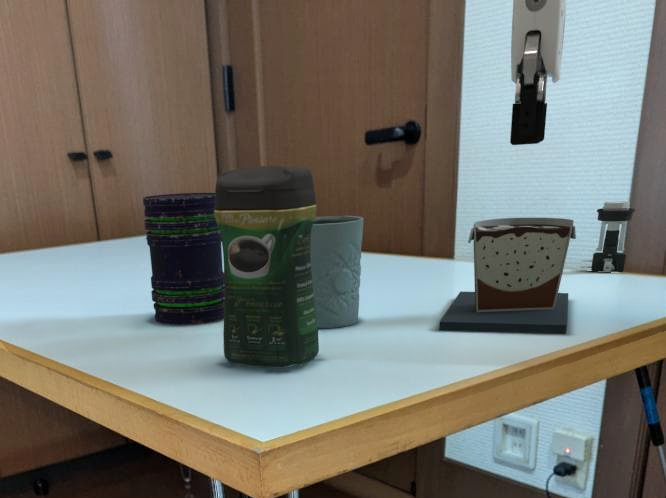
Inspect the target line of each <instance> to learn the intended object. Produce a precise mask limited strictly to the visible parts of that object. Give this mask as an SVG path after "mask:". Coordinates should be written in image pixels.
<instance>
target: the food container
mask: <svg viewBox="0 0 666 498" xmlns="http://www.w3.org/2000/svg"><path fill="white" fill-rule="evenodd" d="M576 233H577V232H576V226H575V225H574V219H569V218H562V217H561V218H559V217H506V218H505V217H503V218H492V219H482V220H477V221H475V222H474V223H473V227H472V228H471V229H470V233H469V236H468V240H467V243H468V244H471V242H472V241H473V274H474V275H473V276H474V292H475V311H476V312H498V311H525V310H551V309H555V304H556V300H557V295H558V293H559V289H560V286H561V283H562V282H561V281H562V276H563V273H564V269H565V263H566V259H567V255H568V251H569V245H570V241H571V239H572V240H576V239H577V234H576Z"/></svg>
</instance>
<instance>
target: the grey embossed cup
mask: <svg viewBox="0 0 666 498" xmlns="http://www.w3.org/2000/svg"><path fill="white" fill-rule="evenodd" d="M364 222H365V220H364V217H363V216H358V215H357V216H356V215H331V216H330V215H329V216H315V220H314V223H313V226H312V230H311V241H310V257H311V271H312V282H313V293H314V302H315V311H316V319H317V327H318V330H319V329H320V330H321V329H337V328H343V327H349V326H352V325H354V324H356V323H357V322H358V320H359V311H360V287H361V275H362V274H361V273H362V264H361V259H362V244H363V237H364V236H363V235H364Z"/></svg>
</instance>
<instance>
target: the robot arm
mask: <svg viewBox="0 0 666 498" xmlns="http://www.w3.org/2000/svg"><path fill="white" fill-rule="evenodd" d="M566 12H567V0H513V2H512V18H511V19H512V20H511V22H512V23H511V39H510V43H511V44H510V52H511V53H510V65H511V66H510V73H511V74H510V76H511V77H510V78H511V81H512V83H514V84H515V94H514V103H512V109H511V123H510V126H511V127H510V137H509V139H510V140H509V143H510V145H512V146H522V145H524V146H525V145H537V144H539V143H542V142H544V139H545V134H546V133H545V132H546V124H547V123H546V121H547V110H548V102H546V98H547V83H548V78H551V81H552V83H553V84H557V83H558V82H559V81H560V80H561V69H562V58H563V49H564V46H563V45H564V37H565V25H566Z"/></svg>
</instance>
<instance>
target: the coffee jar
mask: <svg viewBox="0 0 666 498" xmlns="http://www.w3.org/2000/svg"><path fill="white" fill-rule="evenodd" d="M214 191H215V192H214V193H215V211H214V213H215V219H216V222H217V225H218V228H219V231H220V234H221V239H222V242H221V247H222V258H223V272H224V319H223V329H222V330H223V332H222V333H223V337H222V338H223V356H224V358H225V359H226V361H228V363H230V364H234V365H240V366H244V367H254V368H263V369H270V368H271V369H279V368H283V369H284V368H289V367H292V366H298V365H299V366H304V365H307V364H309V363H310V362H312V361H313V360H315V358H316V357H317V356H318V354H319V351H320V345H319V344H320V343H319V329H318V327H317V319H316V311H315V302H314V293H313V282H312V271H311V257H310V241H311V230H312V226H313V223H314V220H315V217H317V211H318V210H317V208H318V207H317V206H318V205H317V199H316V192H315V184H314V179H313V175H312V172H311V170H310V169H309V168H307V167H298V166H297V167H296V166H287V165H259V166H258V165H257V166H248V167H242V168H237V169H231V170H226V171H221V172H220V173H219V174H218V176H217V178H216V182H215V189H214Z"/></svg>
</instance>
